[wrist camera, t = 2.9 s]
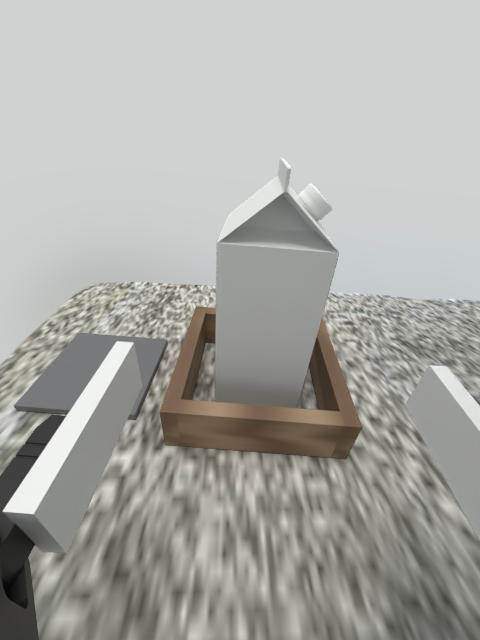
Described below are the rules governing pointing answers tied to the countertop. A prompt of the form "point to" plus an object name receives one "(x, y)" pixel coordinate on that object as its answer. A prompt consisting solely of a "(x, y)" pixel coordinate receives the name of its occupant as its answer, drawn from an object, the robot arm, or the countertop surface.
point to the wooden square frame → (259, 406)
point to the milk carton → (271, 293)
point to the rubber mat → (87, 372)
